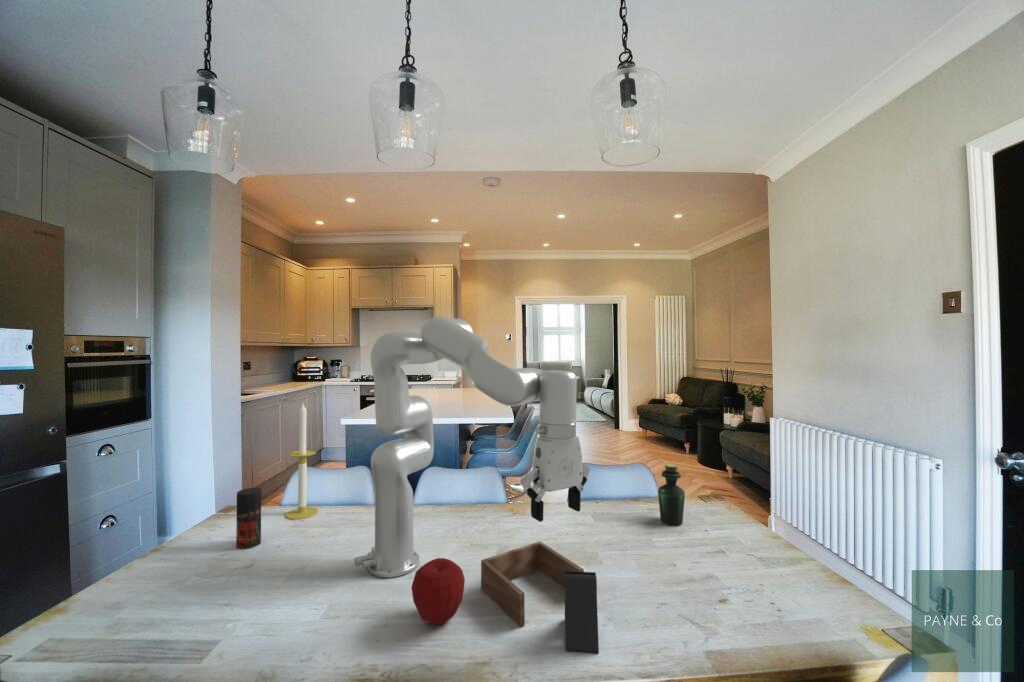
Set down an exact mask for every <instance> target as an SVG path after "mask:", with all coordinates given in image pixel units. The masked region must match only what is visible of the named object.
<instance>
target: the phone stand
mask: <svg viewBox="0 0 1024 682" xmlns="http://www.w3.org/2000/svg"><path fill="white" fill-rule="evenodd" d="M596 574H597V572H592V571H591V572H590V571H584V572H577V571H565V589H564V637H565V638H564V639H565V640H564V641H565V651H567V652H580V653H594V654H599V652H600V649H599V648H600V647H599V645H600V644H599V619H598V617H599V616H598V591H597V590H598V588H597V587H598V586H597V585H598V580H597V575H596Z"/></svg>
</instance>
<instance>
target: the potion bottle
mask: <svg viewBox="0 0 1024 682" xmlns="http://www.w3.org/2000/svg"><path fill="white" fill-rule="evenodd" d="M664 468H665V469H664V470H663V471H662V473H661V476H662V477H663V478H664V479H665V484H663V485H661V486H659V488H658V489H657V495H658V505H659V515H660V516H659V517H660V521H661V523H663V524H665V525H668V526H672V527H678V526H681V525H683V523H684V521H683V520H684V509H685V499H686V498H685V495H686V492H685V491H684V488H683V489H682V487H680V486H679V485H677V482H678V480H679V479H682V478H681V477H682V475H681V473H680V472H679V471H677V469H678V465H677V464H676V463H665V464H664Z"/></svg>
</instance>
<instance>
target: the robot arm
mask: <svg viewBox="0 0 1024 682" xmlns="http://www.w3.org/2000/svg"><path fill="white" fill-rule="evenodd" d="M441 360H447V361H449V362H450V363H452V364H454V365H455V366H456V367H458V368H459V369H461V370H462V371H464V372H465V375H466V377H467V378H468V380H469V381H470V382H471V384H472V385H473V386H474V387H475V388H476V389H477V390H478V391H480V392H481V393H483V394H485V395H486V396H488V397H489V398H491V399H492V400H494V401H495V402H497V403H499V404H501V405H503V406H507V407H518V406H521V405H525V404H530V403H531V404H532V403H534V402H539V418H538V419H539V424H538V425H539V426H538V427H535V433H536V434H537V435H538V437H536V441H535V446H534V452H533V457H532V458H533V459H532V470H530V471H529V472H528V473H527V474H526V475H524V476H523V477H521V478H520V481H519V482H520V484H521V486H522V488H523V492H524V493H525V494H526V495H527V496H528V498H530V516H531V518H533V519H535V520H536V521H538V522H539V523H540V522H543V521H544V501H543V500H542V499H543V497H544V496H545V494H546V492H549V493H551V492H556V491H560V490H565V489H566V490H568V493H567V495H568V496H567V499H568V500H567V507H568V508H570V509H571V510H574V511H575V512H580V511H581V501H582V500H581V497H582V496H581V492H584V486H585V484H586V483H587V481H588V478H587V477H589V474H590V470H591V468H590V467H588V466H586V465H585V464H583V454H582V446H581V441H580V437H579V436H578V435H577V386H578V385H577V383H578V382H577V381H578V380H577V375H576V374H575V373H574V372H573V371H570V370H561V369H559V370H557V369H556V370H555V369H553V370H546V369H540V368H535V367H521V368H511V367H509V366H507V365H505V364H503V363H501V362H500V361H498V360H496V358H493V357H492V356H490V355H489V345H488V342H487V340H485V339H484V338H482V337H480V336H479V335H477V334H475V333H474V330H473V327H472V326H471V325H470V323H468V321H466V320H463V319H460V318H455V317H454V318H453V317H444V316H436V317H432V318H429V319H428V320H426V321H425V322H424V323H423V325H422V326H421V330H420V331H410V330H409V331H408V330H397V331H390V332H386V333H384V334H382V335H380V336H379V337H377V339H376V340H375V342H374V343H373V346H372V347H371V350H370V365H371V372H372V377H373V383H374V411H375V416H374V417H375V424H376V428H377V431H378V432H379V433H380V434H381V435H382V436H385V437H391V436H392V437H393V436H398V435H402V434H404V437H403V438H397V439H393V440H389V441H386V442H384V443H382V444H380V445H379V446H378V447H376V448H375V449H374V451H373V452H372V454H371V458H370V468H371V473H372V474H371V475H372V478H373V484H374V546H373V547H371V551H370V552H368V553H367V554H365V555H359V556H356V557H354V564H355V567H358V566H360V565H362V567H363V569H364V568H368V569H367V570H368V571H369V573H370V574H371V575H373V576H375V577H379V578H396V577H400V576H404V575H406V574H409V573H411V572H412V571H414V570H416V568H417V567H418V566H419V563H420V555H419V553H417V551H415V550H414V491H413V488H412V485H411V484H410V481H409V480H408V476H409V475H411V474H412V473H416V472H418V471H421V470H423V469H425V468H426V467H428V466H429V465H430V464H431V462H432V461H433V458H434V453H435V451H434V450H435V445H434V444H435V442H434V421H433V420H434V419H433V411H432V408H431V406H430V403H429V402H428V401H427V400H426V398H425V397H422V396H420V395H416V394H415V395H410V394H409V393H410V392H409V390H410V389H409V381H408V377H407V375H406V373H405V371H404V369H403V368H402V366H403V365H424V364H430V363H435V362H437V361H441ZM531 483H533V486H532V485H531Z"/></svg>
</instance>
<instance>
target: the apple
mask: <svg viewBox="0 0 1024 682" xmlns="http://www.w3.org/2000/svg"><path fill="white" fill-rule="evenodd" d="M465 582H466V579H465V576H464V572H463V569H462V567H461V566H459V565H458V564H457V563H455V562H454V561H453V560H451V559H449V558H443V557H442V558H441V557H437V558H433V559H432V560H430V561H427V562H426V563H424V564H423V565H422V566H420V567H419V569H417V570H416V571H415V574H414V577H413V580H412V584H411V594H412V595H411V596H412V600H413V603H414V606H415V608H416V610H417V612H418V614H419V616H420V619H421V620H422V621H424V622H425V623H429V624H433V625H437V626H438V625H443V624H445V623H447V622H449V620H450V619H452V618H453V617H454V615H456V613H457V611H458V610H459V607H460V605H461V604H462V601H463V597H464V592H465Z"/></svg>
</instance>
